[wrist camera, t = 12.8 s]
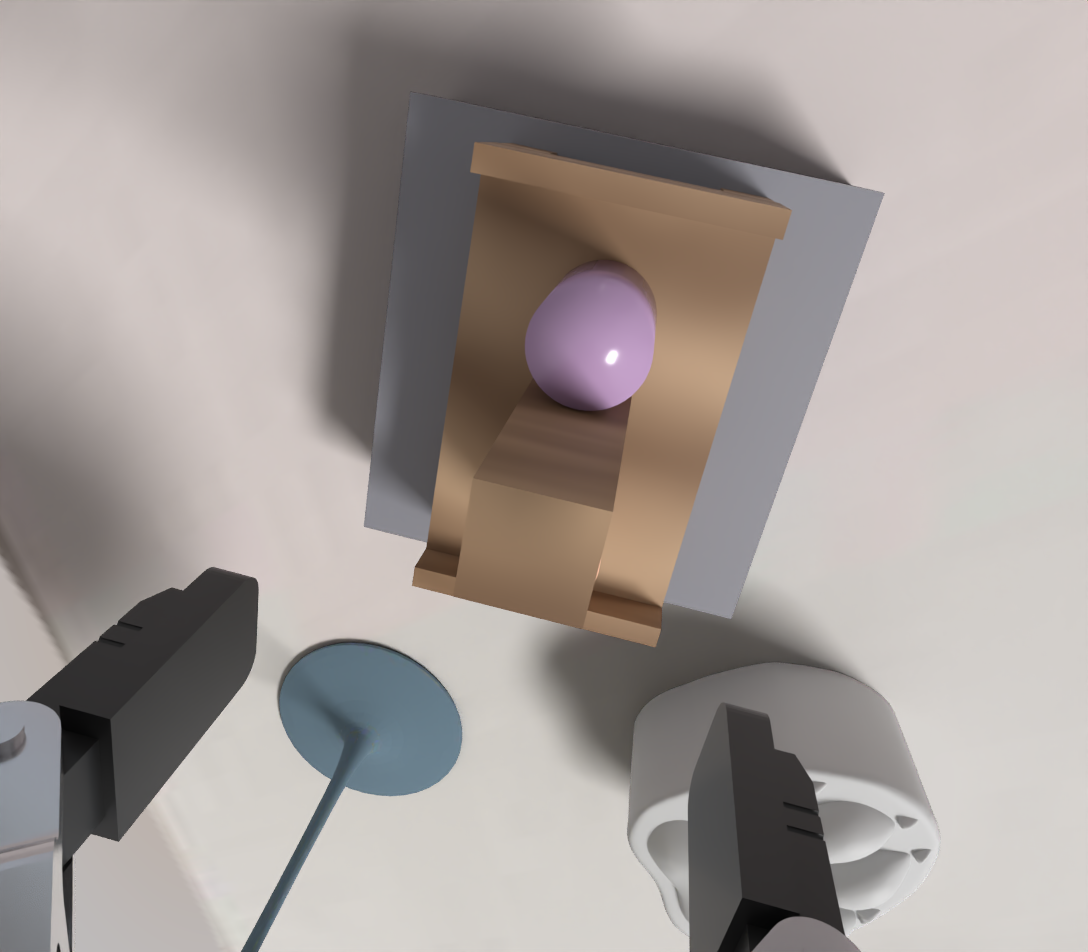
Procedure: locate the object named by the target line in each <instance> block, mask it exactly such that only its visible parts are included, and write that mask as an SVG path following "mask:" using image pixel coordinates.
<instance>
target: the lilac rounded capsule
mask: <svg viewBox="0 0 1088 952" xmlns="http://www.w3.org/2000/svg"><path fill="white" fill-rule="evenodd" d="M656 321H657V307H656V301H655V297H654V295H653V292H652V290H651V288H650V286H649V284H648V283H647V282H646V280H645V279H644V278H643V277H642V276H641V275H640V274H639V273H638V272H637V271H635V270H634V269H633V268H631V267H629V266H628V265H626V264H623V263H621V262H617V261H613V260H594V261H589V262H586V263H583V264H581V265H579V266H577V267H575V268H574V269H572V270H571V271H570V272H568V273H567V274H566V275H565V276H564V277H563V278H562V280H561V281H560V282H559V283H558V284H557V286H556V287H555V288H554V289H553V290H552V292H551V293H550V294H549V295H548V296H547V298H546V299H545V300H544V301H543V303H542V304H541V305H540V306H539V307H538V309H537V310H536V312H535V313H534V315H533V317H532V319H531V321H530V323H529V326H528V328H527V333H526V337H525V355H526V360H527V364H528V367H529V370H530V372H531V374H532V376H533V378H534V380H535V381H536V383H537V384H538V386H539V387H540V388H541V389H542V390H543V391H544V392H545V393H546V394H547V395H548V396H549V397H551V398H552V399H553V400H555V401H557V402H558V403H560V404H562V405H564V406H567V407H569V408H573V409H577V410H584V411H596V410H603V409H607V408H611V407H613V406H616V405H618V404H620V403H622V402H624V401H625V400H627V399H628V398H629V397H631V396H632V395H633V394H634V393H635V392H636V391H637V390H638V389H639V388H640V386H641V385H642V384H643V382H644V381H645V379H646V377H647V375H648V373H649V371H650V368H651V364H652V360H653V353H654V342H655V332H656Z"/></svg>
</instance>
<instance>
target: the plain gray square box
mask: <svg viewBox="0 0 1088 952" xmlns="http://www.w3.org/2000/svg"><path fill="white" fill-rule="evenodd" d="M474 142H497V143H514V144H518V145H523V146H528V147H532V148H537V149H542V150H546V151H551V152H556V153H557V155H558V156H563V157H567V158H572V159H577V160H581V161H586V162H591V163H595V164H600V165H605V166H609V167H614V168H618V169H623V170H628V171H632V172H637V173H642V174H646V175H651V176H656V177H660V178H665V179H670V180H674V181H679V182H684V183H688V184H693V185H698V186H702V187H707V188H712V189H716V190H720V189H721V188H724V189H728V190H733V191H738V192H742V193H747V194H752V195H756V196H761V197H766V198H769V199H771V200H773V201H774V202H777V203H780V204H782V205H784V206H785V207H787V208H789V209H791V210H792V212H791V216H790V219H789V222H788V225H787V228H786V232H785V235H784V238H783V240H780V239H775V242H774V245H773V248H772V252H771V255H770V258H769V261H768V264H767V268H766V271H765V274H764V277H763V281H762V284H761V287H760V290H759V294H758V297H757V300H756V303H755V307H754V310H753V313H752V316H751V320H750V323H749V326H748V329H747V333H746V336H745V339H744V342H743V346H742V349H741V352H740V355H739V359H738V362H737V365H736V368H735V372H734V375H733V378H732V381H731V385H730V388H729V391H728V394H727V398H726V401H725V404H724V407H723V411H722V414H721V417H720V420H719V423H718V427H717V430H716V433H715V436H714V440H713V443H712V446H711V449H710V453H709V456H708V459H707V462H706V466H705V469H704V472H703V475H702V479H701V482H700V485H699V488H698V492H697V495H696V498H695V501H694V505H693V508H692V511H691V514H690V518H689V521H688V524H687V527H686V531H685V534H684V537H683V540H682V544H681V547H680V550H679V553H678V557H677V560H676V563H675V566H674V570H673V573H672V576H671V579H670V582H669V586H668V589H667V592H666V595H665V599H664V602H665V603H669V604H673V605H677V606H681V607H685V608H689V609H693V610H697V611H701V612H705V613H709V614H713V615H717V616H721V617H725V618H729V619H732V616H733V613H734V610H735V607H736V605H737V602H738V599H739V596H740V594H741V591H742V588H743V585H744V582H745V580H746V577H747V574H748V571H749V568H750V566H751V563H752V560H753V557H754V555H755V552H756V549H757V546H758V543H759V541H760V538H761V535H762V532H763V530H764V527H765V524H766V521H767V518H768V516H769V513H770V510H771V507H772V505H773V502H774V499H775V496H776V493H777V491H778V488H779V485H780V482H781V480H782V477H783V474H784V471H785V468H786V466H787V463H788V460H789V457H790V455H791V452H792V449H793V446H794V443H795V441H796V438H797V435H798V432H799V429H800V427H801V424H802V421H803V418H804V416H805V413H806V410H807V407H808V404H809V402H810V399H811V396H812V393H813V391H814V388H815V385H816V382H817V379H818V377H819V374H820V371H821V368H822V366H823V363H824V360H825V357H826V354H827V352H828V349H829V346H830V343H831V341H832V338H833V335H834V332H835V329H836V327H837V324H838V321H839V318H840V316H841V313H842V310H843V307H844V304H845V302H846V299H847V296H848V293H849V291H850V288H851V285H852V282H853V279H854V277H855V274H856V271H857V268H858V265H859V263H860V260H861V257H862V254H863V252H864V249H865V246H866V243H867V240H868V238H869V235H870V232H871V229H872V227H873V224H874V221H875V218H876V215H877V213H878V210H879V207H880V204H881V202H882V199H883V196H884V193H883V192H878V191H874V190H870V189H865V188H861V187H857V186H852V185H847V184H843V183H838V182H833V181H829V180H824V179H819V178H815V177H810V176H805V175H801V174H796V173H791V172H787V171H782V170H777V169H773V168H768V167H763V166H759V165H754V164H749V163H745V162H740V161H735V160H731V159H726V158H721V157H717V156H712V155H707V154H703V153H698V152H693V151H689V150H684V149H679V148H675V147H670V146H665V145H661V144H656V143H651V142H647V141H642V140H637V139H633V138H628V137H623V136H619V135H614V134H609V133H605V132H600V131H595V130H591V129H586V128H581V127H577V126H572V125H567V124H563V123H558V122H553V121H549V120H544V119H539V118H534V117H530V116H525V115H520V114H516V113H511V112H506V111H502V110H497V109H492V108H488V107H483V106H478V105H474V104H469V103H464V102H460V101H455V100H450V99H445V98H441V97H436V96H431V95H426V94H421V93H416V92H411V91H410V101H409V110H408V119H407V129H406V138H405V147H404V157H403V166H402V175H401V185H400V194H399V203H398V213H397V222H396V231H395V241H394V250H393V259H392V269H391V278H390V288H389V297H388V306H387V316H386V325H385V334H384V344H383V353H382V362H381V372H380V381H379V390H378V400H377V409H376V418H375V428H374V437H373V446H372V456H371V465H370V474H369V484H368V493H367V502H366V512H365V521H364V527H367V528H371V529H375V530H379V531H383V532H387V533H391V534H395V535H399V536H403V537H407V538H411V539H415V540H419V541H423V542H427V540H428V533H429V526H430V519H431V512H432V506H433V499H434V492H435V485H436V478H437V471H438V465H439V458H440V451H441V444H442V437H443V430H444V423H445V417H446V410H447V403H448V396H449V389H450V382H451V375H452V369H453V362H454V355H455V348H456V341H457V334H458V328H459V321H460V314H461V307H462V300H463V293H464V286H465V280H466V273H467V266H468V259H469V252H470V245H471V239H472V232H473V225H474V218H475V211H476V204H477V197H478V191H479V184H480V177H481V174H477V173H472V172H470V170H471V163H472V156H473V149H474Z"/></svg>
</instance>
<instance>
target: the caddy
mask: <svg viewBox="0 0 1088 952" xmlns="http://www.w3.org/2000/svg"><path fill="white" fill-rule="evenodd" d="M470 172H472V173H477V174H481V177H480V184H479V191H478V197H477V204H476V211H475V218H474V225H473V232H472V239H471V245H470V252H469V259H468V266H467V273H466V280H465V286H464V293H463V300H462V307H461V314H460V321H459V328H458V334H457V341H456V348H455V355H454V362H453V369H452V375H451V382H450V389H449V396H448V403H447V410H446V417H445V423H444V430H443V437H442V444H441V451H440V458H439V465H438V471H437V478H436V485H435V492H434V499H433V506H432V512H431V519H430V526H429V533H428V540H427V547H426V550H425V551H424V553H423V555H422V556H421V558H420V559H419V561H418V563H417V564H416V566H415V569H414V576H413V583H412V586H415V587H419V588H423V589H427V590H431V591H435V592H439V593H443V594H447V595H451V596H454V597H458V598H462V599H466V600H469V601H473V602H477V603H481V604H485V605H489V606H493V607H497V608H501V609H505V610H509V611H513V612H517V613H521V614H525V615H529V616H533V617H536V618H540V619H544V620H548V621H552V622H556V623H560V624H564V625H568V626H572V627H576V628H580V629H585V630H589V631H593V632H597V633H601V634H605V635H609V636H613V637H616V638H620V639H624V640H628V641H632V642H636V643H640V644H644V645H648V646H652V647H656V645H657V641H658V638H659V635H660V632H661V621H662V605H663V602H664V599H665V595H666V592H667V589H668V586H669V582H670V579H671V576H672V573H673V570H674V566H675V563H676V560H677V557H678V553H679V550H680V547H681V544H682V540H683V537H684V534H685V531H686V527H687V524H688V521H689V518H690V514H691V511H692V508H693V505H694V501H695V498H696V495H697V492H698V488H699V485H700V482H701V479H702V475H703V472H704V469H705V466H706V462H707V459H708V456H709V453H710V449H711V446H712V443H713V440H714V436H715V433H716V430H717V427H718V423H719V420H720V417H721V414H722V411H723V407H724V404H725V401H726V398H727V394H728V391H729V388H730V385H731V381H732V378H733V375H734V372H735V368H736V365H737V362H738V359H739V355H740V352H741V349H742V346H743V342H744V339H745V336H746V333H747V329H748V326H749V323H750V320H751V316H752V313H753V310H754V307H755V303H756V300H757V297H758V294H759V290H760V287H761V284H762V281H763V277H764V274H765V271H766V268H767V264H768V261H769V258H770V255H771V252H772V248H773V245H774V242H775V239H780V240H783V238H784V235H785V232H786V228H787V225H788V222H789V219H790V216H791V212H792V210H791V209H789V208H787V207H785V206H784V205H782V204H780V203H777V202H774V201H773V200H771V199H769V198H766V197H761V196H756V195H752V194H747V193H742V192H738V191H733V190H728V189H724V188H721V189H720V190H716V189H712V188H707V187H702V186H698V185H693V184H688V183H684V182H679V181H674V180H670V179H665V178H660V177H656V176H651V175H646V174H642V173H637V172H632V171H628V170H623V169H618V168H614V167H609V166H605V165H600V164H595V163H591V162H586V161H581V160H577V159H572V158H567V157H563V156H558V155H557V153H556V152H551V151H546V150H542V149H537V148H532V147H528V146H523V145H518V144H514V143H497V142H474V149H473V156H472V163H471V170H470ZM594 260H613V261H617V262H621V263H623V264H626V265H628V266H629V267H631V268H633V269H634V270H635V271H637V272H638V273H639V274H640V275H641V276H642V277H643V278H644V279H645V280H646V282H647V283H648V284H649V286H650V288H651V290H652V292H653V295H654V297H655V301H656V307H657V321H656V332H655V342H654V353H653V360H652V364H651V368H650V371H649V373H648V375H647V377H646V379H645V381H644V382H643V384H642V385H641V386H640V388H639V389H638V390H637V391H636V392H635V393H634V394H633V395H632V396H631V397H629V398H628V399H627V400H625V401H624V402H622V403H620V404H618V405H616V406H613V407H611V408H607V409H603V410H596V411H584V410H577V409H573V408H569V407H567V406H564V405H562V404H560V403H558V402H557V401H555V400H553V399H552V398H551V397H549V396H548V395H547V394H546V393H545V392H544V391H543V390H542V389H541V388H540V387H539V386H538V384H537V383H536V381H535V380H534V378H533V376H532V374H531V372H530V370H529V367H528V364H527V360H526V355H525V337H526V333H527V328H528V326H529V323H530V321H531V319H532V317H533V315H534V313H535V312H536V310H537V309H538V307H539V306H540V305H541V304H542V303H543V301H544V300H545V299H546V298H547V296H548V295H549V294H550V293H551V292H552V290H553V289H554V288H555V287H556V286H557V284H558V283H559V282H560V281H561V280H562V278H563V277H564V276H565V275H566V274H567V273H568V272H570V271H571V270H572V269H574V268H575V267H577V266H579V265H581V264H583V263H586V262H589V261H594ZM600 560H601V563H600ZM599 564H600V568H599ZM598 568H599V573H598V576H597V572H598ZM596 576H597V578H596ZM595 579H596V580H595Z"/></svg>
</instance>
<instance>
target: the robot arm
mask: <svg viewBox="0 0 1088 952" xmlns="http://www.w3.org/2000/svg"><path fill="white" fill-rule="evenodd" d="M258 591H259V590H258V582H257V580H256V579H255V578H253V577H249V576H246V575H242V574H238V573H234V572H230V571H226V570H223V569H219V568H215V567H211V568H209V569H207V570H206V571H204V572H203V573H202V574H201V575H200V576H199V577H198V578H197V579H196V580H194V581H193V582H192V583H191V584H190V585H189V586H188V587H187V588H186V589H185V590H184V591H182V590H179V589H175V588H170V589H167V590H165V591H163V592H161V593H158V594H156V595H154V596H152V597H149V598H147V599H145V600H143V601H141V602H139V603H138V604H137V605H136V606H135V607H134V608H132V609H131V610H130V611H129V612H128V613H127V614H126V615H124V616H123V617H122V618H121V619H120V620H119V621H118V624H117V625H113V626H112V627H110V628H109V629H108V630H107V631H106V632H105V633H104V634H102V635H101V636H100V638H99V641H98V642H97V641H94V642H93V643H92V644H91V645H90V646H89V647H87V648H86V649H85V650H84V651H83V652H82V653H80V654H79V655H78V656H77V657H76V658H75V659H73V660H72V661H71V662H70V663H69V664H68V665H67V666H65V667H64V668H63V669H62V670H61V671H60V672H58V673H57V674H56V675H55V676H54V677H53V678H52V679H50V680H49V681H48V682H47V683H46V684H45V685H43V686H42V687H41V688H40V689H39V690H38V691H36V692H35V693H34V694H33V695H32V696H31V697H30V698H28V699H27V700H26V701H8V702H1V703H0V952H75V855H74V853H75V852H76V851H77V850H78V849H79V847H80V846H81V845H82V844H83V843H84V841H85V840H86V839H87V837H89V835H90V834H94V835H98V836H101V837H105V838H108V839H111V840H115V841H118V842H119V841H120V839H121V838H122V837H123V836H124V834H125V833H126V832H127V831H128V829H129V828H130V827H131V826H132V824H133V823H134V822H135V820H136V819H137V818H138V817H139V815H140V814H141V813H142V812H143V810H144V809H145V808H146V807H147V805H148V804H149V803H150V802H151V800H152V799H153V798H154V797H155V795H156V794H157V793H158V792H159V790H160V789H161V788H162V786H163V785H164V784H165V783H166V781H167V780H168V779H169V778H170V776H171V775H172V774H173V773H174V771H175V770H176V769H177V768H178V766H179V765H180V764H181V763H182V761H183V760H184V759H185V757H186V756H187V755H188V754H189V752H190V751H191V750H192V749H193V747H194V746H195V745H196V744H197V742H198V741H199V740H200V739H201V737H202V736H203V735H204V734H205V732H206V731H207V730H208V728H209V727H210V726H211V725H212V723H213V722H214V721H215V720H216V718H217V717H218V716H219V715H220V713H221V712H222V711H223V710H224V708H225V707H226V706H227V705H228V703H229V702H230V701H231V700H232V698H233V697H234V696H235V694H236V693H237V692H238V691H239V689H240V688H241V687H242V685H243V684H244V682H245V681H246V679H247V677H248V675H249V673H250V671H251V668H252V665H253V662H254V659H255V654H256V643H257V617H258ZM818 814H819V808H818V803H817V799H816V794H815V789H814V784H813V782H812V780H811V778H810V777H809V775H808V774H807V772H806V771H805V769H804V768H803V766H802V764H801V763H800V761H799V760H798V758H797V757H796V755H795V754H792V753H788V752H784V751H781V750H777V749H775V748H774V742H773V735H772V729H771V723H770V718H769V716H768V714H766V713H763V712H759V711H755V710H751V709H747V708H744V707H740V706H736V705H732V704H728V703H725V702H722V703H721V704H720V705H719V707H718V709H717V711H716V713H715V716H714V719H713V721H712V724H711V727H710V729H709V732H708V735H707V737H706V740H705V742H704V745H703V748H702V750H701V753H700V756H699V758H698V761H697V764H696V766H695V769H694V772H693V776H692V780H691V785H690V790H689V797H688V865H689V936H690V952H861V951H860V950H859V949H858V948H857V946H856V945H855V944H854V943H853V942H851V941H850V940H849V939H848V938H847V937H846V935H845V932H844V928H843V923H842V918H841V914H840V909H839V904H838V899H837V894H836V890H835V885H834V880H833V875H832V870H831V866H830V861H829V856H828V851H827V846H826V842H825V841H823V837H824V832H823V827H822V823H821V818H820V817H819V816H818Z"/></svg>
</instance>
